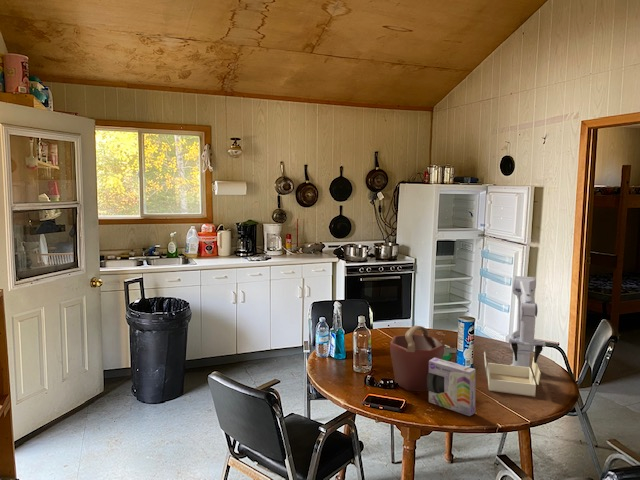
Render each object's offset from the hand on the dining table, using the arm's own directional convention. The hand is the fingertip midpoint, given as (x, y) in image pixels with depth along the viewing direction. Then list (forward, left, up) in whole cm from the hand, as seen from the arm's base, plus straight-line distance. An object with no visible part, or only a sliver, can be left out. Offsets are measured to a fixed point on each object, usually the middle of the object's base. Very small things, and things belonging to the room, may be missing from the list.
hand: (525, 361), depth 214 cm
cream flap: (+2, +4, -3) cm, 5 cm away
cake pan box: (+33, -30, -11) cm, 46 cm away
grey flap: (+2, -16, -3) cm, 16 cm away
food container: (-12, -35, -11) cm, 38 cm away
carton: (+2, -6, -10) cm, 12 cm away
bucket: (+14, -46, -11) cm, 49 cm away
